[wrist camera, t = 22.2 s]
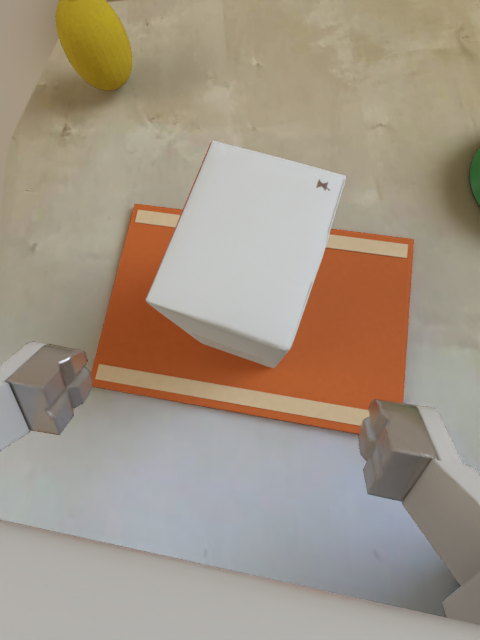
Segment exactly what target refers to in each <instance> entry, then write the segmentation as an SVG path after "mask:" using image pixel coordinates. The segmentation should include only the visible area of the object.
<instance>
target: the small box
mask: <svg viewBox="0 0 480 640" xmlns="http://www.w3.org/2000/svg"><path fill="white" fill-rule="evenodd" d="M345 180H346V176H345V175H342V174H337V173H333V172H330V171H327V170H323V169H320V168H316V167H313V166H309V165H305V164H302V163H298V162H294V161H290V160H287V159H283V158H279V157H275V156H271V155H267V154H264V153H260V152H255V151H252V150H248V149H244V148H241V147H237V146H233V145H228V144H224V143H220V142H217V141H212V142H211V143H210V146H209V148H208V150H207V153H206V155H205V157H204V160H203V162H202V165H201V167H200V170H199V172H198V174H197V177H196V179H195V182H194V184H193V186H192V189H191V191H190V193H189V196H188V198H187V201H186V203H185V206H184V208H183V211H182V213H181V215H180V217H179V220H178V222H177V225H176V227H175V229H174V232H173V234H172V236H171V239H170V241H169V244H168V246H167V249H166V251H165V253H164V256H163V258H162V261H161V263H160V266H159V268H158V270H157V273H156V275H155V278H154V280H153V282H152V285H151V287H150V290H149V292H148V295H147V297H146V299H145V300H146V302H147V303H148V304H149V305H151V306H152V307H153V308H154V309H156V310H157V311H159V312H160V313H161V314H163V315H164V316H165V317H167V318H168V319H169V320H171V321H172V322H173V323H175V324H176V325H177V326H179V327H180V328H181V329H183V330H184V331H185V332H187V333H188V334H189V335H191V336H192V337H194V338H195V339H196V340H198V341H199V342H201V343H202V344H205V345H208V346H211V347H213V348H216V349H219V350H222V351H225V352H228V353H230V354H233V355H236V356H239V357H242V358H245V359H247V360H250V361H253V362H256V363H259V364H262V365H264V366H267V367H270V368H275V367H276V366H277V364H278V363H279V362H280V361H281V360H282V359H283V357H284V356H285V355H286V354H287V353H288V351H289V350H290V348H291V347H292V344H293V341H294V339H295V336H296V333H297V330H298V327H299V324H300V321H301V318H302V315H303V312H304V310H305V307H306V304H307V301H308V298H309V295H310V292H311V289H312V286H313V283H314V280H315V277H316V275H317V272H318V269H319V266H320V263H321V261H322V258H323V255H324V251H325V248H326V245H327V243H328V239H329V234H330V230H331V226H332V223H333V220H334V217H335V213H336V210H337V207H338V204H339V201H340V197H341V194H342V191H343V187H344V184H345Z"/></svg>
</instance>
